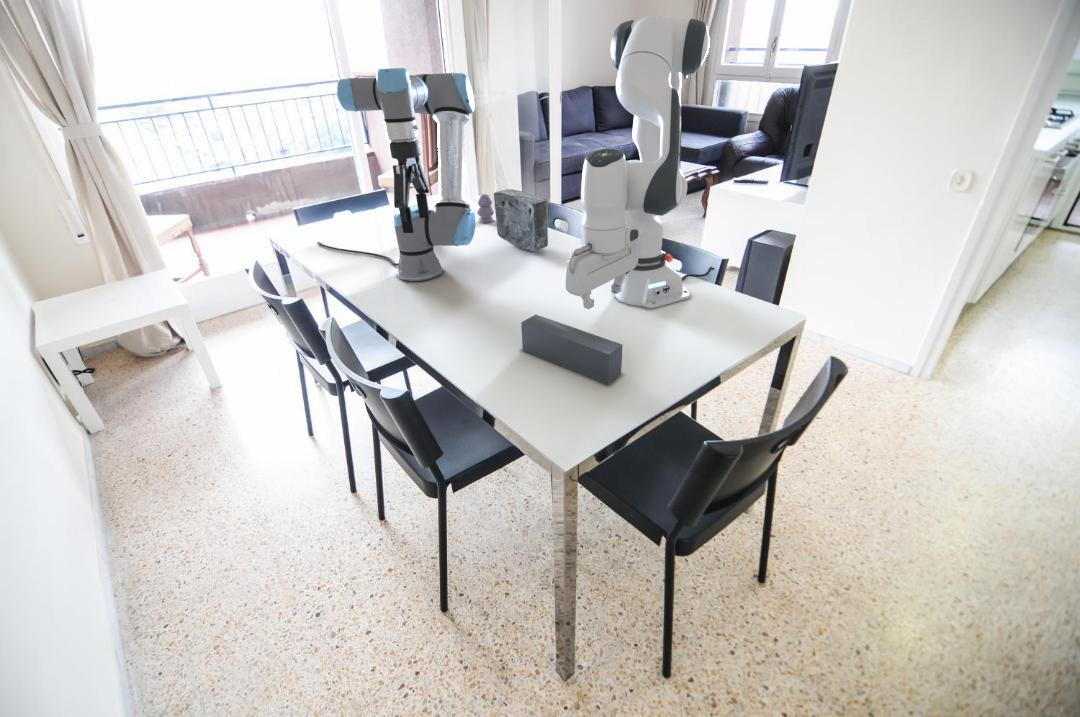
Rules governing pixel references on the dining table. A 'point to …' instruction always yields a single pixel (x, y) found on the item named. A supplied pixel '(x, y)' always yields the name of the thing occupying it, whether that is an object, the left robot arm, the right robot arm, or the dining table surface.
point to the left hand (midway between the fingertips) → (417, 225)
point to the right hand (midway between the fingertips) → (602, 299)
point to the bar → (572, 348)
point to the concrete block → (522, 219)
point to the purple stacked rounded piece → (485, 208)
